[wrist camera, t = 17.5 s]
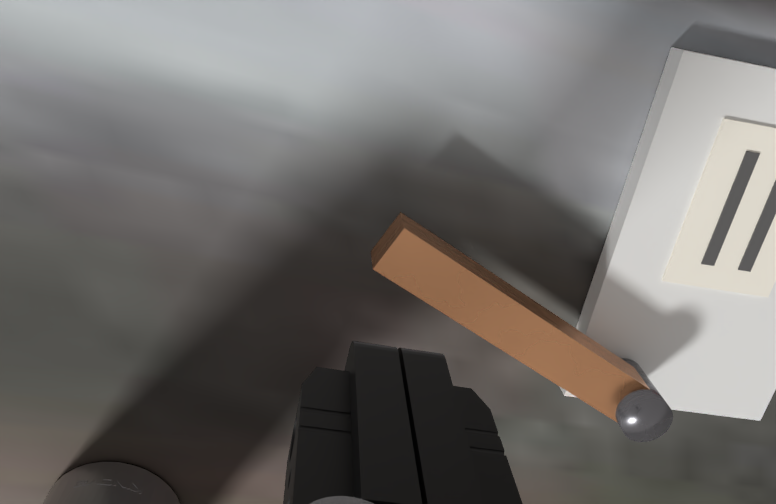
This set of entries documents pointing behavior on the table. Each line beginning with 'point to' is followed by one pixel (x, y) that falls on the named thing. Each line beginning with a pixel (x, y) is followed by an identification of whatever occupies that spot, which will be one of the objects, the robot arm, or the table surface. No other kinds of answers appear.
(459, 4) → the table surface
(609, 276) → the label panel
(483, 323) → the bar
